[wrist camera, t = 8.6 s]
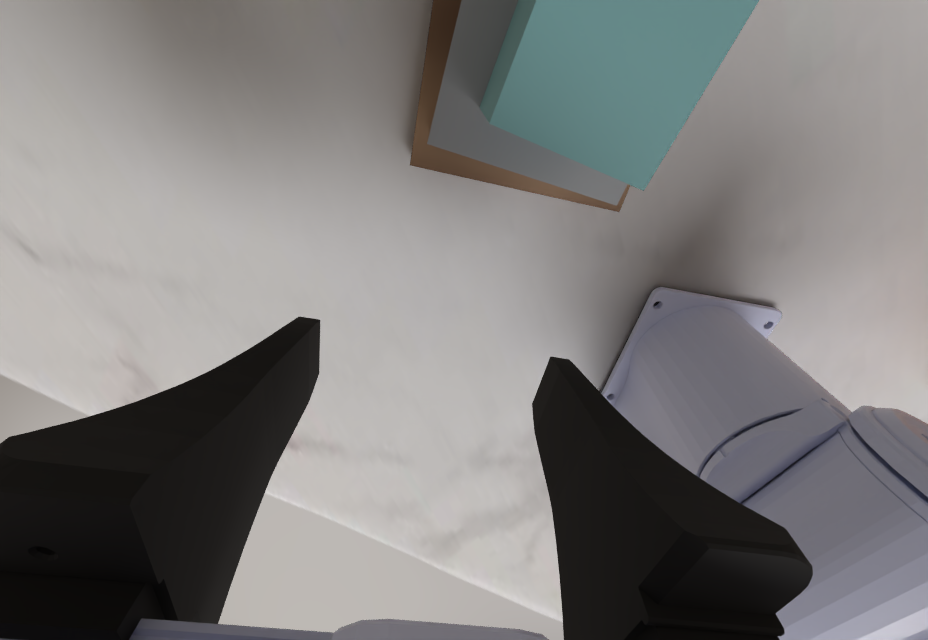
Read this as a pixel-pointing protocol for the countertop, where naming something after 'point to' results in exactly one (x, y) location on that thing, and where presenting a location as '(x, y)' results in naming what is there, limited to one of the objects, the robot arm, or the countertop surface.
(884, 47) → the countertop surface
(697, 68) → the teal block
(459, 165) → the walnut slab
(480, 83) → the gray square slab
